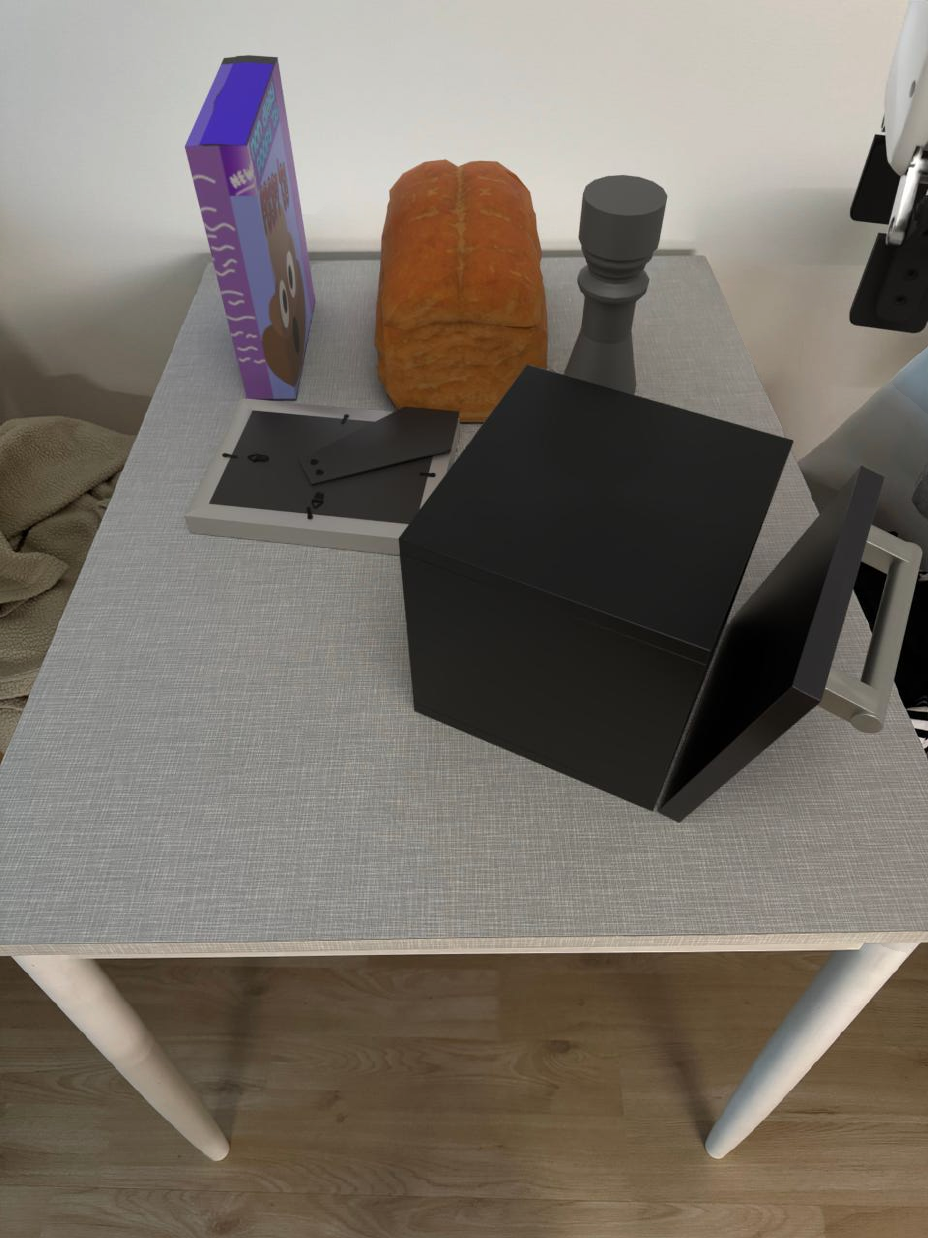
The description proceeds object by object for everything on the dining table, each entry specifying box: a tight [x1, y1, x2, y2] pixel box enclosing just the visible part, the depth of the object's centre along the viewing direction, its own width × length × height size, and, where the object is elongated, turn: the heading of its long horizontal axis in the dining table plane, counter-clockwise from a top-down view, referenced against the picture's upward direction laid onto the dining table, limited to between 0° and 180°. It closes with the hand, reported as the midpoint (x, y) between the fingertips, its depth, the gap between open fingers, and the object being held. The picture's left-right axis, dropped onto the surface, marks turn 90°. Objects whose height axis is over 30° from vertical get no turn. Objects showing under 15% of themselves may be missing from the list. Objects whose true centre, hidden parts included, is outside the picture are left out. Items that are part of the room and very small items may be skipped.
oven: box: [399, 364, 794, 812], centre depth 58 cm, size 18×18×18 cm
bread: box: [373, 158, 549, 423], centre depth 85 cm, size 16×27×16 cm, turn 1°
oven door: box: [658, 465, 923, 824], centre depth 55 cm, size 6×18×18 cm, turn 154°
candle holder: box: [562, 174, 668, 395], centre depth 69 cm, size 6×6×25 cm
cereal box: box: [184, 54, 316, 402], centre depth 81 cm, size 17×5×24 cm, turn 0°
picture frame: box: [183, 397, 461, 556], centre depth 77 cm, size 16×3×21 cm
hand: (881, 269), depth 42 cm, fingers open, 9 cm apart
